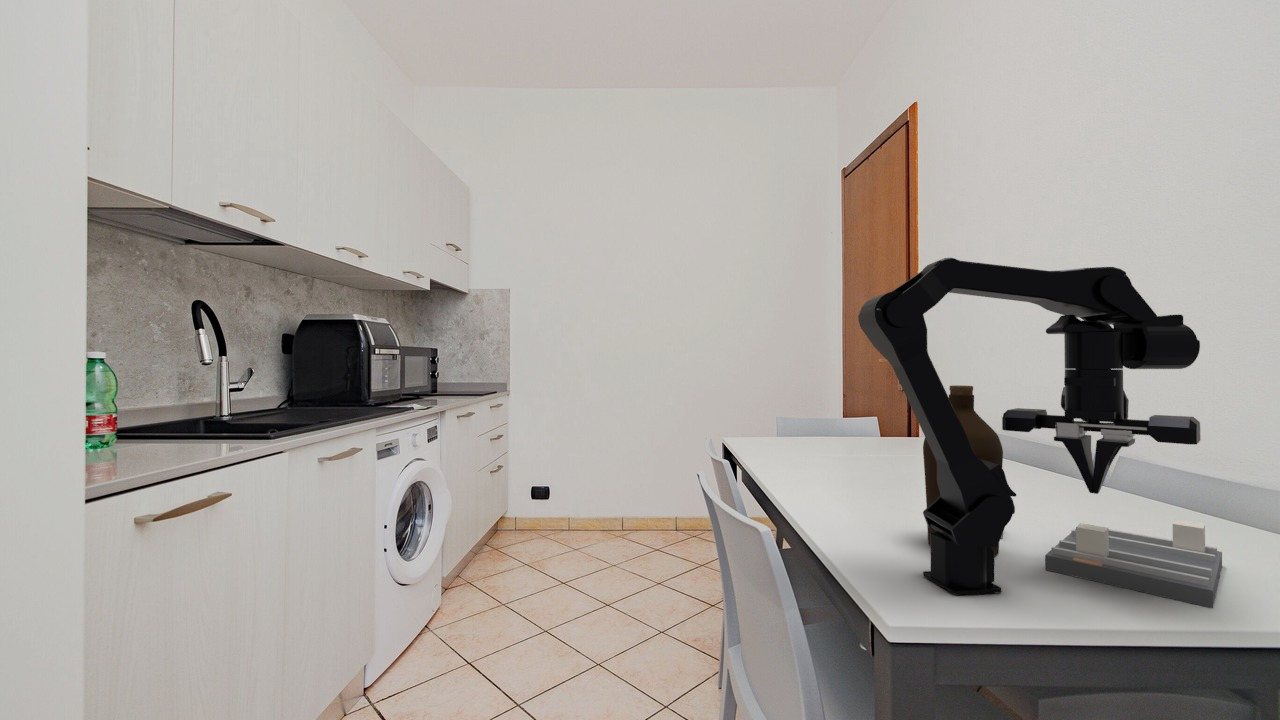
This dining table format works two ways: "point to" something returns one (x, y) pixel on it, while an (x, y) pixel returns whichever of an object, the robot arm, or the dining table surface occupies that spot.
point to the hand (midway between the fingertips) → (1094, 492)
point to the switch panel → (1143, 566)
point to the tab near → (1092, 539)
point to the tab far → (1189, 536)
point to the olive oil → (977, 434)
